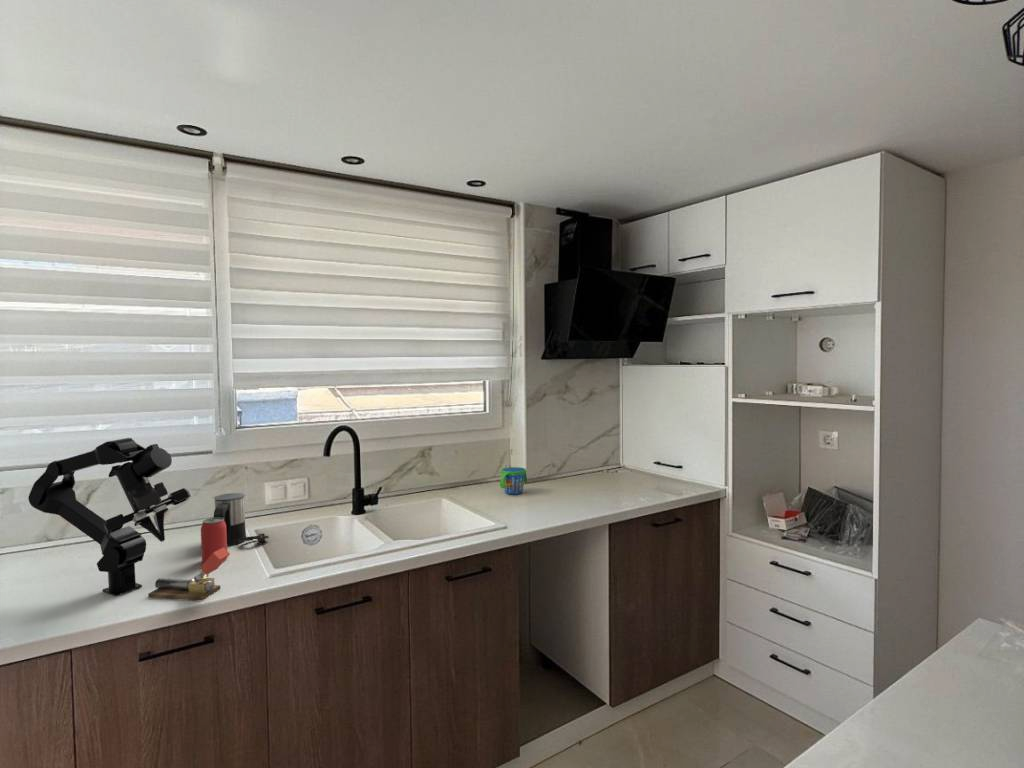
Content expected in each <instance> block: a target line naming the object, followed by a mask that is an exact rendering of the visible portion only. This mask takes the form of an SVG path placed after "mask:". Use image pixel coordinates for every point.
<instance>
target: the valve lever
mask: <svg viewBox="0 0 1024 768" xmlns="http://www.w3.org/2000/svg"><path fill="white" fill-rule="evenodd" d="M230 555H231V553H230V552H229V551H228V549H227V550H226V549H225V548H224V547H223V548H221V549H219V550H217V551H215V552H214V553H212V555H211V556H210V557H209V558H208V559H207V560H206V561H205V563H203V564H202V565H200V567H199V569H200V570H201V571H200V573H199V574H197V575H195V576H194V577H193V579H194V581H195V582H199V581H201V580H203V579H205V578H209V574H211V573H212V572H214V571H216V570H217V569H218V568H219V567H221V565H222V564H223V563H224V562H225V559H226V558H228V557H229V556H230ZM226 560H227V559H226Z"/></svg>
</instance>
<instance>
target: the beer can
mask: <svg viewBox="0 0 1024 768" xmlns="http://www.w3.org/2000/svg"><path fill="white" fill-rule="evenodd" d="M200 542H201V543H200V544H201V562H202V563H203V564H204V563H205V561H206V560H207V559H208V558H209V557H210V556H211V555H212V553H214V552H215V551H217V550H219V549H221V548H223V547H224V548H225V549H226V550H227V551H228V545H227V534H226V524H225V522H224V519H223V518H220V517H217V518H214V517H210V518H206V519H203V520H202V525H201V527H200ZM227 558H228V557H227ZM227 558H226V559H225V560H227Z"/></svg>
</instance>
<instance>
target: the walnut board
mask: <svg viewBox="0 0 1024 768" xmlns="http://www.w3.org/2000/svg"><path fill="white" fill-rule="evenodd" d="M214 587H215V588H213V589H212V591H208V592H206V593H205V594H193V593H189V591H188V590H179V589H161V588H156V589H155V590H153V591H151V592H148V593H147V595H148V596H147V597H148V599H163V598H165V600H179V599H188V600H187V601H196V600H202V601H204V600H205V599H207V598H208V596H209V595H210V596H211V594H212V595H214V592H215V593H216V592H218V591H220V590H221V584H220V585H219V584H214ZM219 589H220V590H219ZM217 590H218V591H217ZM210 596H209V597H210ZM206 597H207V598H206ZM203 599H204V600H203Z"/></svg>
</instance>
